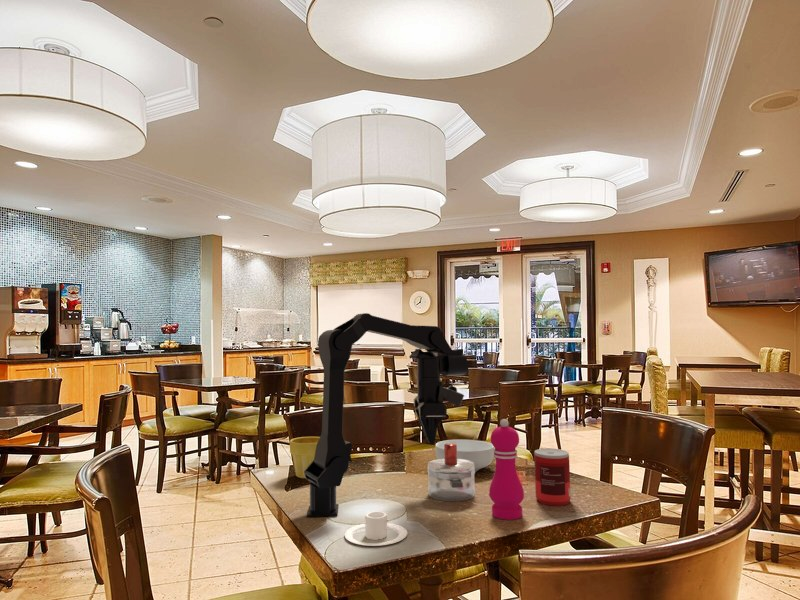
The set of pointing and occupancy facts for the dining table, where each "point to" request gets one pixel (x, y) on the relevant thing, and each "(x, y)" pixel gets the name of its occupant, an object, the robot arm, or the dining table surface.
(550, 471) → the canned food
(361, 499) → the dining table surface
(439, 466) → the lid
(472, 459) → the cereal bowl
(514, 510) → the pepper mill
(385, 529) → the candle holder
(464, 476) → the pot
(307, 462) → the plant pot
